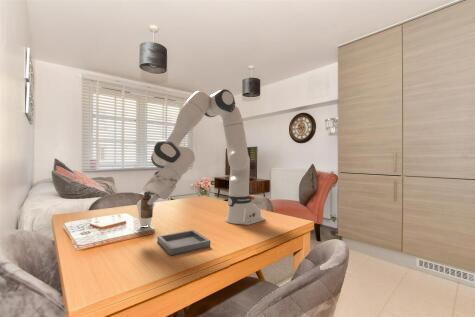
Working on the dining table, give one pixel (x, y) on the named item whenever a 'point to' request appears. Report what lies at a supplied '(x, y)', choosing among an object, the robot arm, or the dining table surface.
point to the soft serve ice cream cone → (143, 220)
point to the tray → (183, 242)
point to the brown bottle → (146, 206)
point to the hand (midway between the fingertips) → (145, 202)
